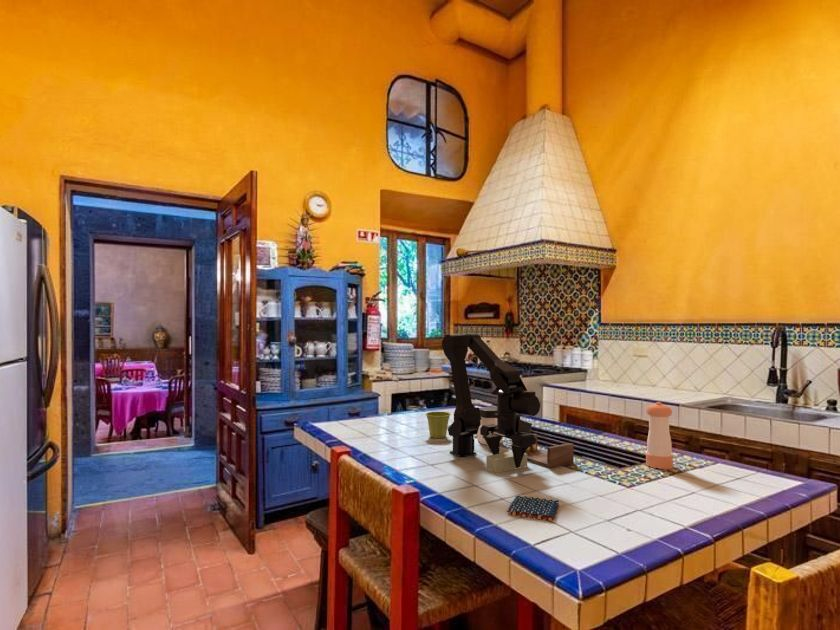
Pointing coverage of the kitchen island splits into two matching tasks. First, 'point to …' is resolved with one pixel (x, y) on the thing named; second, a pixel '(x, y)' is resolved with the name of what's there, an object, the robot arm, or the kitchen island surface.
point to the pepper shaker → (659, 437)
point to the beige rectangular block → (503, 462)
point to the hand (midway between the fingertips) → (506, 463)
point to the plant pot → (438, 423)
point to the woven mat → (533, 508)
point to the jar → (487, 420)
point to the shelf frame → (551, 455)
